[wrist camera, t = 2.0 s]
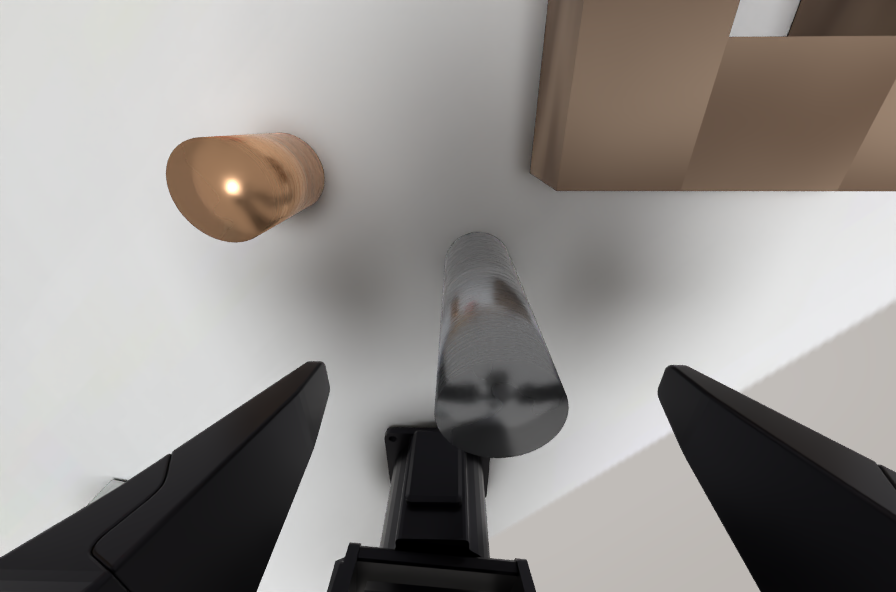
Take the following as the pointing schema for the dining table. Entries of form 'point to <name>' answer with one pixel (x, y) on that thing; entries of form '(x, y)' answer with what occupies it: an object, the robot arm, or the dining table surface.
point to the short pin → (243, 182)
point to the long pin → (493, 357)
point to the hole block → (716, 98)
